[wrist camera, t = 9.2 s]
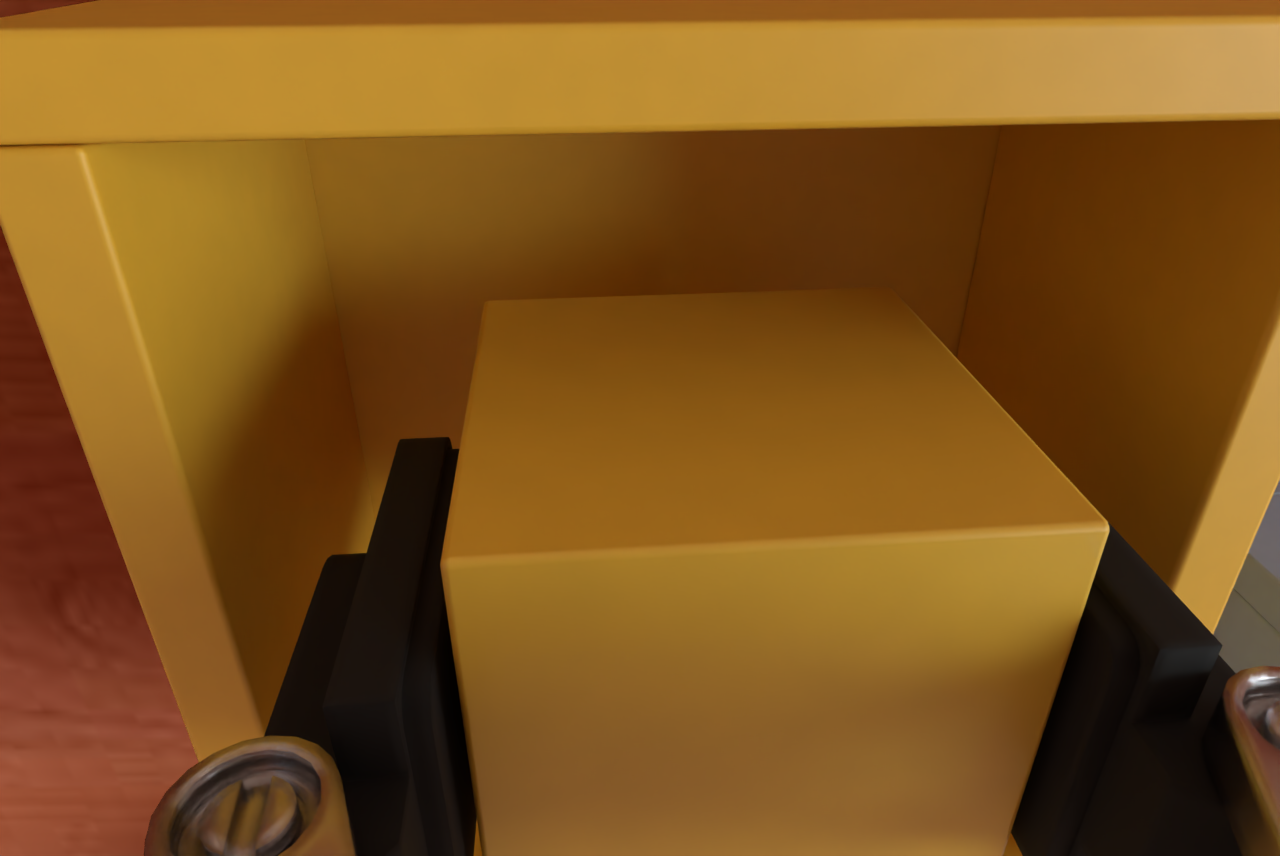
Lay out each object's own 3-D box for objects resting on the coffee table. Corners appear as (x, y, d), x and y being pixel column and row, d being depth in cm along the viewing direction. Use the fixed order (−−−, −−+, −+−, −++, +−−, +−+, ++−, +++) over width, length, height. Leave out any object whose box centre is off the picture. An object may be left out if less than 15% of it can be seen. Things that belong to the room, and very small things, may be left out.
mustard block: (483, 298, 11) (438, 563, 6) (891, 284, 11) (1116, 524, 7) (513, 617, 13) (496, 963, 9) (845, 597, 13) (985, 919, 9)
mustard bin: (231, -25, 12) (-77, 29, 6) (1055, -30, 13) (1487, 12, 7) (365, 625, 18) (274, 974, 12) (927, 590, 19) (1102, 899, 13)
